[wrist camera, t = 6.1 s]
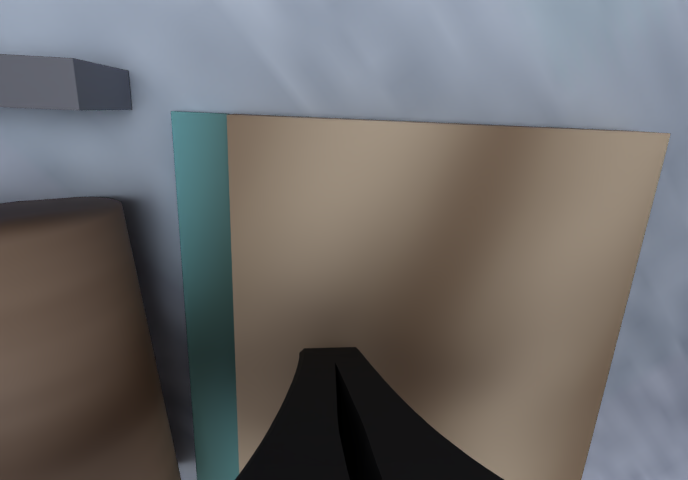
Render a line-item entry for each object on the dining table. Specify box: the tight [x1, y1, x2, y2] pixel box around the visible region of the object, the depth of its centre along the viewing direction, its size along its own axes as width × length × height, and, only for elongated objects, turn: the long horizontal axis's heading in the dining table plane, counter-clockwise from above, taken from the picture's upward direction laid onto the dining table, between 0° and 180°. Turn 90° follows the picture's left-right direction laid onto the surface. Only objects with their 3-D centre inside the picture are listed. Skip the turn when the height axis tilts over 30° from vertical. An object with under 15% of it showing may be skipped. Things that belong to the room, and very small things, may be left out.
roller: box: [0, 197, 181, 480], centre depth 9 cm, size 4×8×4 cm
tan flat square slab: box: [171, 111, 670, 480], centre depth 11 cm, size 11×12×1 cm
